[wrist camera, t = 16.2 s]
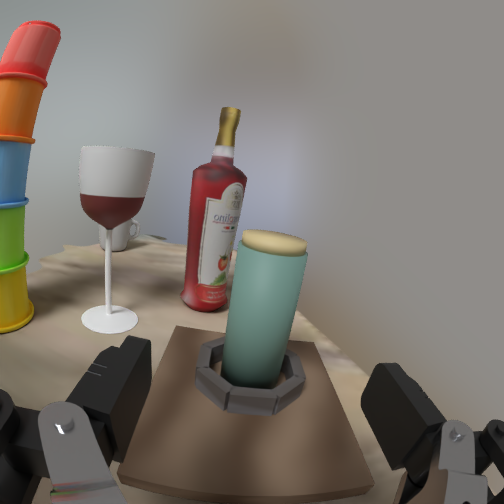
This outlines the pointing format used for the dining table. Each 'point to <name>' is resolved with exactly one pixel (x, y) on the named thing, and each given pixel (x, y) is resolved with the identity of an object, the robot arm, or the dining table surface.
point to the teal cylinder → (262, 307)
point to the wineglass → (112, 214)
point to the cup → (119, 235)
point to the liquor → (213, 220)
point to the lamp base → (243, 431)
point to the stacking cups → (19, 157)
